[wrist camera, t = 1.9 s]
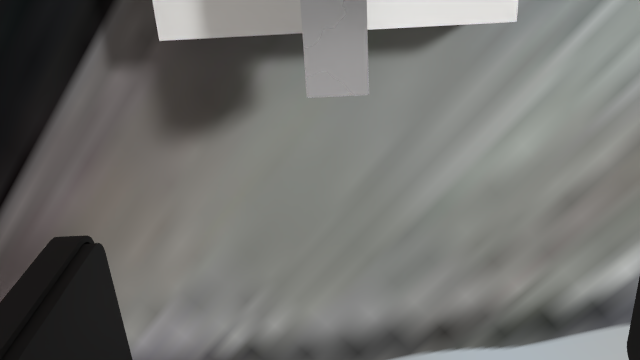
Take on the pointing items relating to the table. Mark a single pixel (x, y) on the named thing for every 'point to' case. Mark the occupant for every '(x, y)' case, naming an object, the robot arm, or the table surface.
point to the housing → (285, 18)
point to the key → (335, 47)
